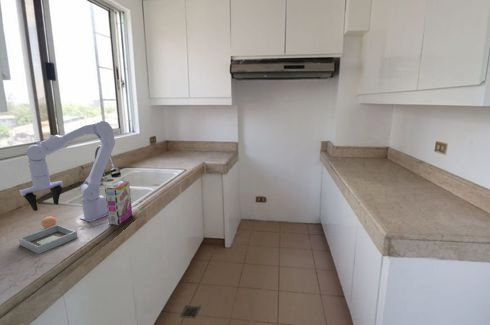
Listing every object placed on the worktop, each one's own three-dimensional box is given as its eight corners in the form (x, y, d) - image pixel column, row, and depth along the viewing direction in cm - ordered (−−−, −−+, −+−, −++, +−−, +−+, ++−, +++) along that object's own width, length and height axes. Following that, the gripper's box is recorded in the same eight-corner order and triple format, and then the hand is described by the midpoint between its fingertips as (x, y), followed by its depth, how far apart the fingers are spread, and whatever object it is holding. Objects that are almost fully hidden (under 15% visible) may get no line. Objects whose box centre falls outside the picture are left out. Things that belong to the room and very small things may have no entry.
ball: (53, 224, 115) (51, 213, 114) (59, 226, 112) (57, 215, 111) (40, 229, 111) (37, 217, 109) (46, 231, 108) (44, 220, 107)
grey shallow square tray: (58, 230, 109) (57, 224, 109) (77, 237, 103) (76, 231, 103) (20, 244, 98) (18, 238, 98) (38, 253, 92) (37, 247, 91)
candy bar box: (119, 225, 113) (115, 188, 109) (108, 225, 113) (103, 188, 110) (133, 215, 124) (129, 180, 120) (123, 214, 124) (119, 180, 121)
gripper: (54, 169, 115) (59, 200, 118) (13, 178, 102) (20, 211, 105) (63, 171, 111) (68, 202, 114) (22, 180, 99) (29, 214, 102)
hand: (46, 207), depth 110 cm, fingers open, 7 cm apart
